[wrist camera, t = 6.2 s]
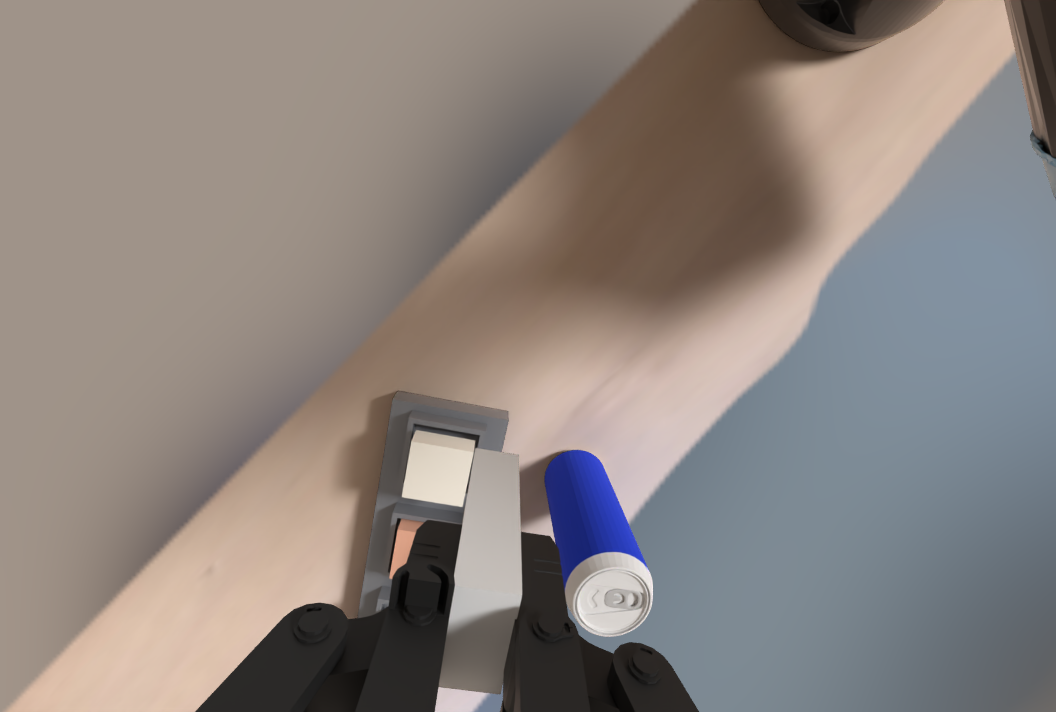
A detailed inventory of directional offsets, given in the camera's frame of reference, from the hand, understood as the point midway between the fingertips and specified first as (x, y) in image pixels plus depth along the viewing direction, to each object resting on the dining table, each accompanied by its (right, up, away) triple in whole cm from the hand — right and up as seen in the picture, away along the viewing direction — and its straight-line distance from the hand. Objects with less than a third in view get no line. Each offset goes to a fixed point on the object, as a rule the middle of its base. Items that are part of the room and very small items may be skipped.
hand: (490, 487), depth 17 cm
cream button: (-5, -3, +20) cm, 21 cm away
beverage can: (+5, -6, +26) cm, 27 cm away
